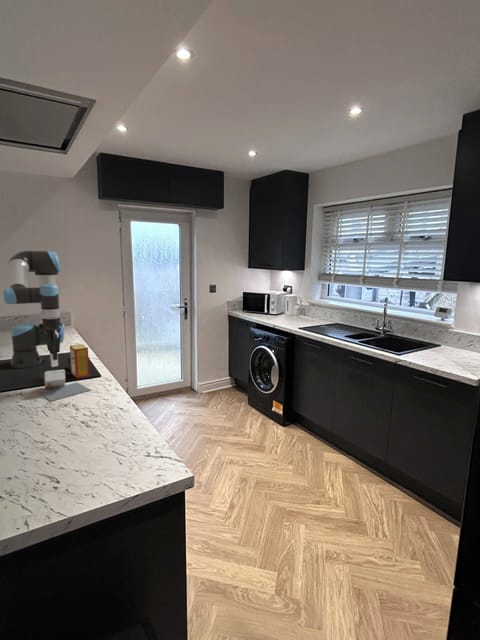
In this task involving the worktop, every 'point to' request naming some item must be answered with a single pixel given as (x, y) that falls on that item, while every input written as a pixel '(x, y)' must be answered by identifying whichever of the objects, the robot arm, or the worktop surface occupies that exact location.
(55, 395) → the mat
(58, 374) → the ink box
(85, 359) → the baking soda box
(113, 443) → the worktop surface
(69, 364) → the box
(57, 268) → the robot arm
